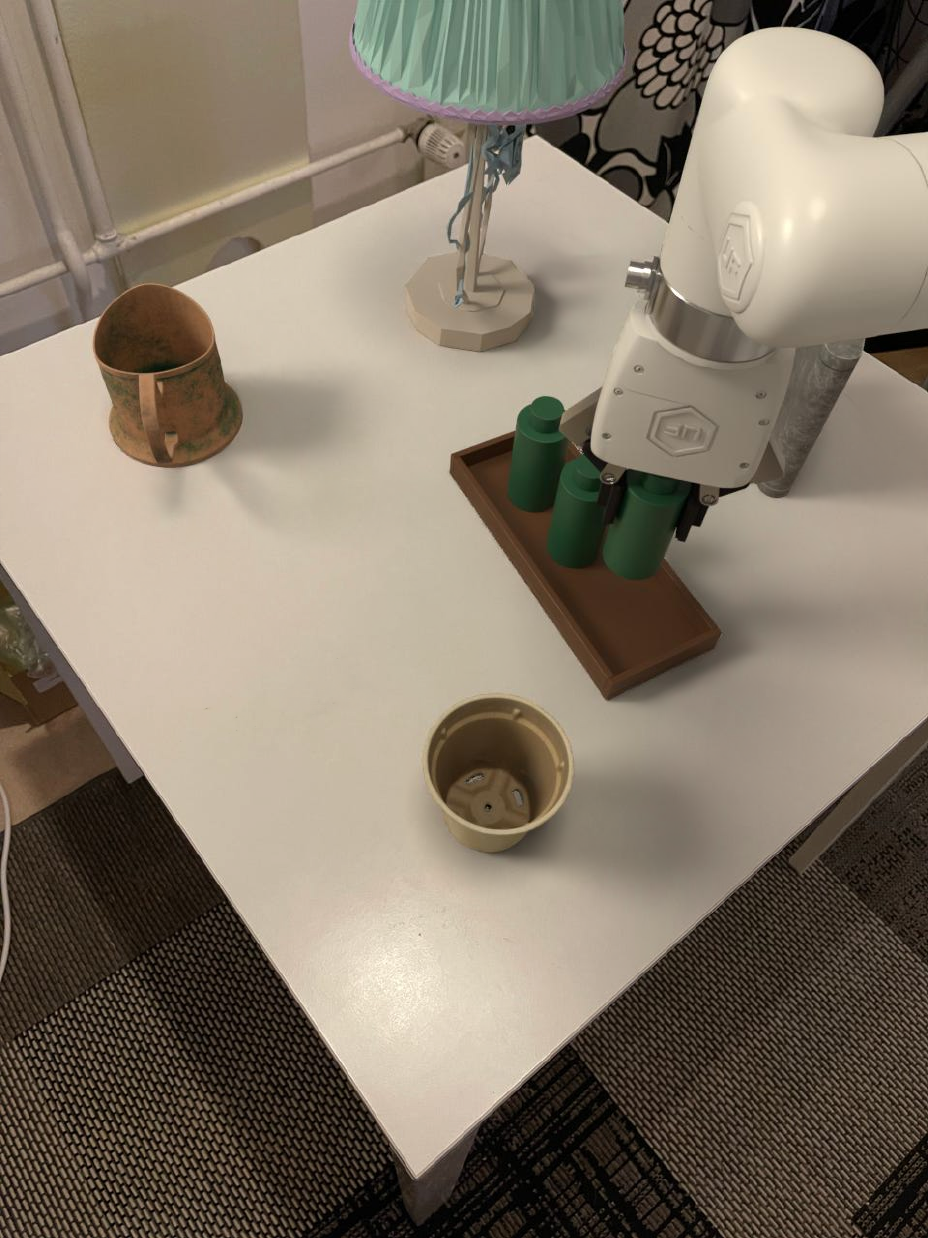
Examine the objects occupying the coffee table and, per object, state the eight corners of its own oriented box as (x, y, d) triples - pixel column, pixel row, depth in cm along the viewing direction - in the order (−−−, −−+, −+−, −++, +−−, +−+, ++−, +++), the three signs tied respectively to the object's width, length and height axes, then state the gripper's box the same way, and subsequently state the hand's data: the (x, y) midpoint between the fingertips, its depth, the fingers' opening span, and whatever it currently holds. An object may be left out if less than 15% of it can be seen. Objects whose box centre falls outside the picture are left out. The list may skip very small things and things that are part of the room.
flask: (793, 388, 89) (872, 220, 74) (798, 501, 81) (889, 338, 66) (755, 383, 89) (826, 213, 74) (757, 495, 81) (837, 331, 66)
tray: (714, 648, 72) (723, 632, 70) (606, 700, 69) (612, 685, 67) (548, 435, 84) (551, 416, 82) (449, 472, 81) (450, 453, 79)
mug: (109, 529, 75) (63, 424, 65) (110, 379, 84) (70, 267, 74) (252, 512, 77) (229, 408, 67) (238, 367, 86) (215, 256, 76)
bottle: (673, 567, 67) (711, 476, 59) (623, 589, 66) (655, 499, 58) (639, 524, 69) (672, 430, 61) (591, 545, 68) (617, 452, 60)
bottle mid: (609, 556, 76) (634, 475, 67) (564, 576, 74) (584, 495, 66) (580, 519, 78) (601, 435, 69) (536, 537, 76) (552, 454, 68)
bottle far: (567, 501, 79) (586, 417, 70) (523, 519, 77) (537, 435, 69) (541, 466, 81) (556, 380, 72) (497, 483, 79) (508, 397, 71)
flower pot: (583, 810, 64) (605, 759, 57) (492, 907, 60) (504, 866, 53) (485, 724, 68) (494, 666, 60) (392, 811, 64) (390, 760, 56)
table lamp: (556, 403, 86) (653, -115, 52) (333, 357, 88) (289, -173, 54) (592, 263, 97) (690, -235, 64) (394, 225, 99) (389, -280, 66)
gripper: (552, 314, 47) (516, 532, 63) (883, 381, 46) (763, 587, 61) (577, 228, 51) (537, 453, 67) (882, 287, 50) (769, 503, 65)
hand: (646, 516), depth 64 cm, fingers closed on bottle, 4 cm apart
